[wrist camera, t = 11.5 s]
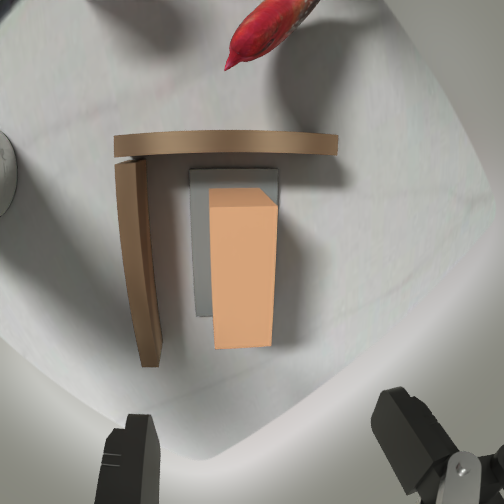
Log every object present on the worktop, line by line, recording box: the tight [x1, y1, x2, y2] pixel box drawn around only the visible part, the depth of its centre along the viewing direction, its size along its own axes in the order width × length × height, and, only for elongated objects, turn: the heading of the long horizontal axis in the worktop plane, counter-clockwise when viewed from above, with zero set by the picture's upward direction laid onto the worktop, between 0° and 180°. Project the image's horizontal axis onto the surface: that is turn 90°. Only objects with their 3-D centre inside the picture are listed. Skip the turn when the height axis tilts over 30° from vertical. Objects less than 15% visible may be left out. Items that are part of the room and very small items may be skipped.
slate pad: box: [190, 168, 278, 316], centre depth 27 cm, size 7×13×1 cm, turn 179°
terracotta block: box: [209, 188, 278, 349], centre depth 24 cm, size 10×4×7 cm, turn 179°
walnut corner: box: [114, 130, 338, 367], centre depth 25 cm, size 16×19×4 cm
